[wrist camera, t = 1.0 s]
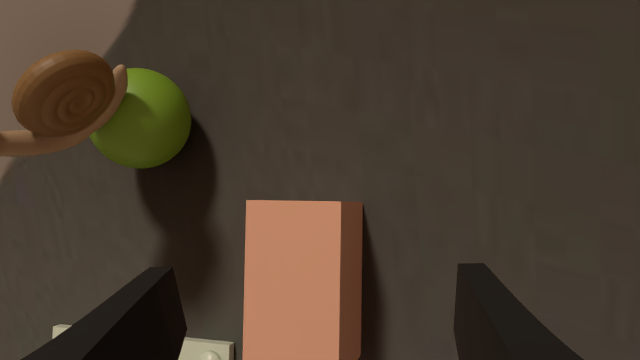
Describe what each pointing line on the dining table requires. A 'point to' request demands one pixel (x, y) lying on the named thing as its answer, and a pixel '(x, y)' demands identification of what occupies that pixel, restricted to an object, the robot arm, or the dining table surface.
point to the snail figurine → (97, 110)
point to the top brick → (302, 280)
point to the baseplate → (190, 347)
